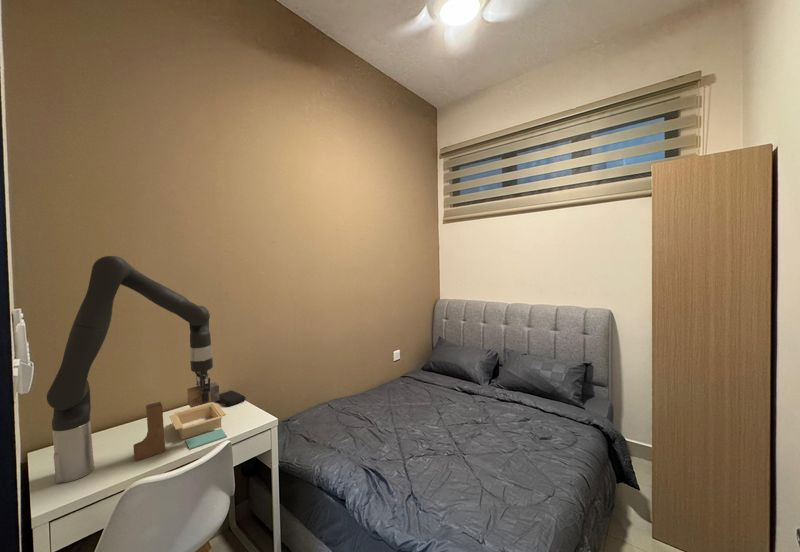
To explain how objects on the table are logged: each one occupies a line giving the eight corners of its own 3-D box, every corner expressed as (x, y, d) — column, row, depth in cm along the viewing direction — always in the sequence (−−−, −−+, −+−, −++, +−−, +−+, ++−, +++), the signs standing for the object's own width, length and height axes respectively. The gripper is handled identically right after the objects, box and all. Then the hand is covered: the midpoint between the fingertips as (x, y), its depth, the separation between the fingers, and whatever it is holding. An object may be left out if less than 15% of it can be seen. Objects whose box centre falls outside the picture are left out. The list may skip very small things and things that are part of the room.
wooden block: (135, 461, 123) (131, 412, 121) (134, 456, 126) (130, 408, 125) (165, 451, 129) (162, 404, 127) (163, 446, 132) (160, 401, 131)
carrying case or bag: (211, 401, 173) (226, 409, 164) (211, 395, 172) (225, 403, 164) (232, 394, 181) (247, 401, 172) (232, 388, 181) (247, 395, 172)
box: (190, 407, 131) (189, 392, 130) (188, 403, 134) (187, 388, 134) (219, 400, 137) (218, 385, 137) (216, 396, 141) (215, 381, 141)
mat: (189, 449, 130) (189, 448, 130) (185, 441, 136) (185, 440, 136) (226, 437, 138) (226, 435, 138) (221, 429, 144) (221, 428, 144)
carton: (177, 443, 134) (176, 431, 134) (169, 425, 149) (168, 414, 148) (227, 427, 146) (227, 415, 146) (216, 411, 161) (215, 401, 160)
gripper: (186, 355, 138) (189, 396, 139) (194, 363, 127) (197, 408, 128) (207, 351, 142) (209, 391, 144) (216, 359, 132) (219, 402, 133)
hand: (203, 399), depth 136 cm, fingers closed on box, 5 cm apart
